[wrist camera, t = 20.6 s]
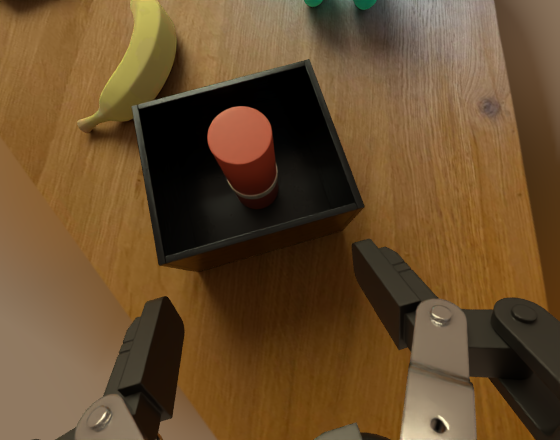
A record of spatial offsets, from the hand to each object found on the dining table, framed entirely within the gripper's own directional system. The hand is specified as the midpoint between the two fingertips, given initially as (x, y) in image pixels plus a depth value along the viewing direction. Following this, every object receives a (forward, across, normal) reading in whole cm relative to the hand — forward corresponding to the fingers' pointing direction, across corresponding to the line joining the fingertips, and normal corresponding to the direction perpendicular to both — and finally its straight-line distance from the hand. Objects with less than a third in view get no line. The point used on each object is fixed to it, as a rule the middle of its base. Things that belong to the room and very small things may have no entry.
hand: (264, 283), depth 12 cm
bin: (+22, 0, +5) cm, 22 cm away
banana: (+37, +12, -9) cm, 40 cm away
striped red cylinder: (+21, -1, +5) cm, 22 cm away
